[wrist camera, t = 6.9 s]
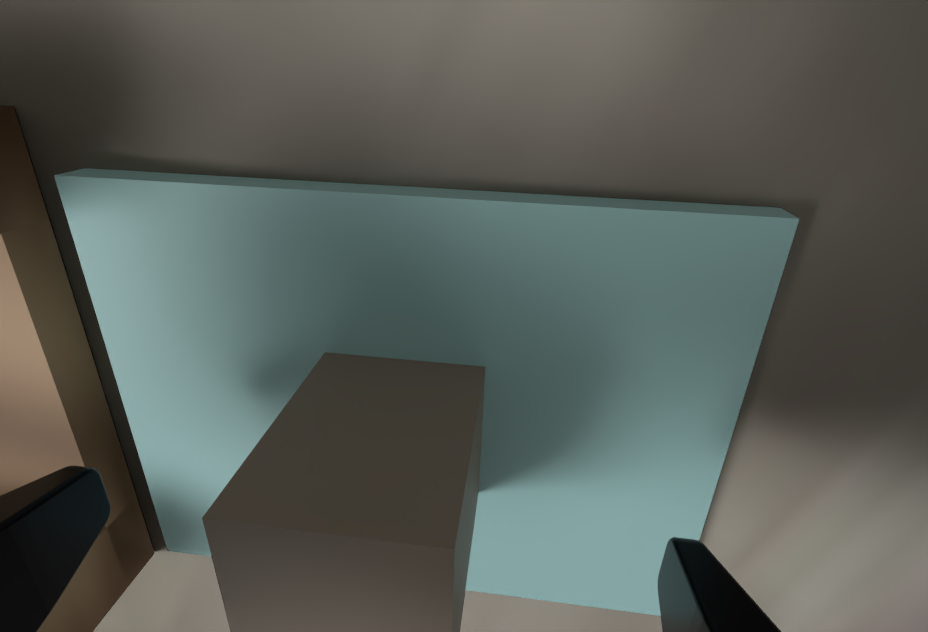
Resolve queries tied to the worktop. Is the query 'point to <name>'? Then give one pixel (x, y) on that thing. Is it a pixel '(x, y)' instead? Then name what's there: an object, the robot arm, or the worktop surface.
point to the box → (56, 391)
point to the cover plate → (454, 288)
